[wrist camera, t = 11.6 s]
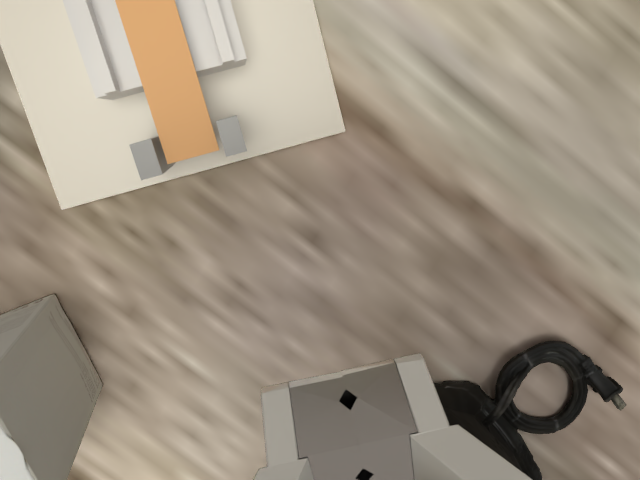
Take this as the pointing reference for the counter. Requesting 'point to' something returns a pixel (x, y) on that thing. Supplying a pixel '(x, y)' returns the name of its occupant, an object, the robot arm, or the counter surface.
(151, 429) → the counter surface
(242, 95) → the socket board
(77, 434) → the skincare box
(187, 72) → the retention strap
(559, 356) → the coffee maker
